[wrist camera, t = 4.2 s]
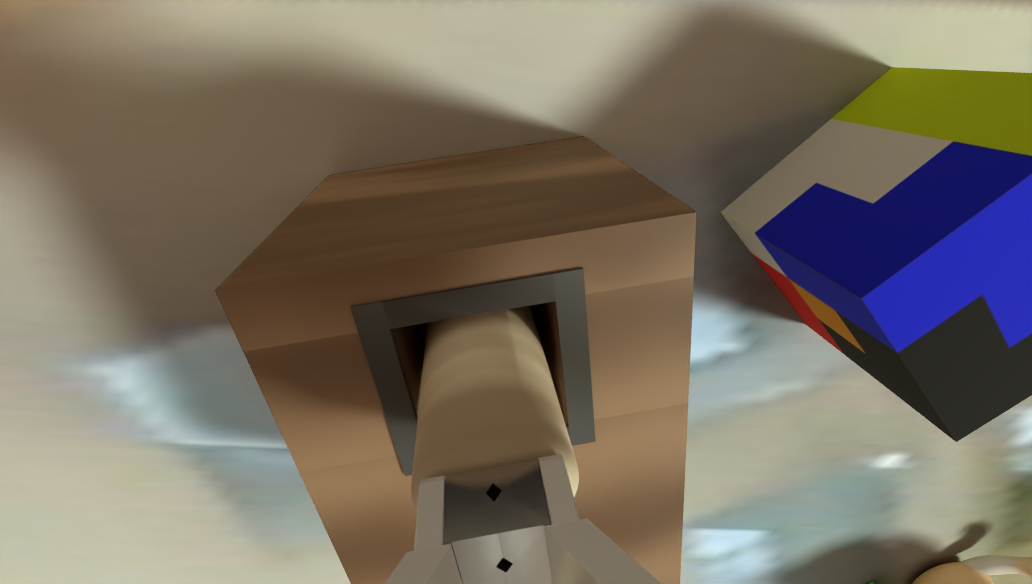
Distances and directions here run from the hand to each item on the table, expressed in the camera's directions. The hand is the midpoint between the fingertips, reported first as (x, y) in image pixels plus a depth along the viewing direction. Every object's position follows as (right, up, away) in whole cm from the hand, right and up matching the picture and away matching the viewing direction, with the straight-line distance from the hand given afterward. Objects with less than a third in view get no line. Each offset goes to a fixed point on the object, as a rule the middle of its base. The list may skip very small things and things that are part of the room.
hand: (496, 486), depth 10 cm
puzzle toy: (+18, +9, +16) cm, 26 cm away
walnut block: (-1, +3, +16) cm, 17 cm away
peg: (-1, +5, +10) cm, 12 cm away
